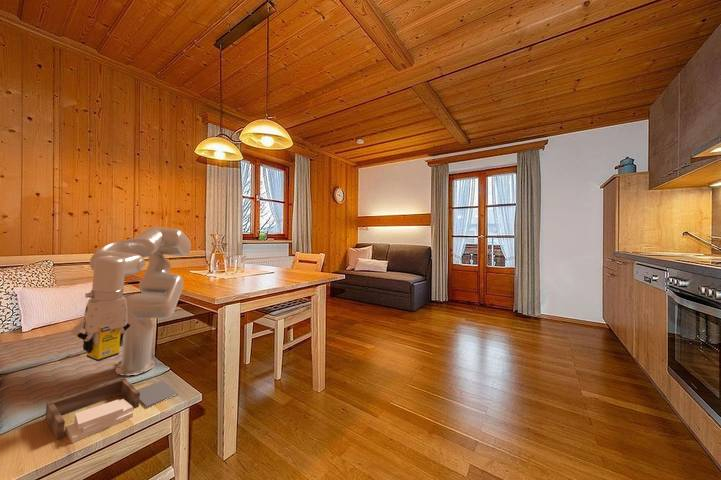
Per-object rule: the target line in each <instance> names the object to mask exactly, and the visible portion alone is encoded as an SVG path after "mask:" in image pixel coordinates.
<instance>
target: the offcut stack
mask: <svg viewBox="0 0 721 480" xmlns="http://www.w3.org/2000/svg"><path fill="white" fill-rule="evenodd" d="M133 410H134V408H133V406H132V405H131V404H130V403H129V402H128V401H127V400H126V399H125V398H121V399H115V400H112V401H109V402H105V403H102V404H100V405H97V406H93V407H91V408H88V409H84V410H82V411H79V412H75V413H74V422H72V423H69V424H67V425H64V433H65V434H66V435H67V437H68V439H69V440H70V442H71V443H72V444H73V443H75V442H78V441H80V440H82V439H85V438H87V437H90V436H92V435H94V434H97V433H99V432H101V431H103V430H106V429H108V428H111V427H112V426H114V425H117V424H120V423H121V422H124V421H127V420H130V419H131V418H133V417H134V412H133ZM110 426H111V427H110Z"/></svg>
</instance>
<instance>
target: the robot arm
mask: <svg viewBox="0 0 721 480" xmlns="http://www.w3.org/2000/svg"><path fill="white" fill-rule="evenodd" d="M191 249H192V242H191V240H190V239H189V238H188V236H187V235H186V233H184V232H183V230H181V229H178V228H172V227H164V226H163V227H162V226H151V227H149V228H147V229H145V231H143V232H142V233H140V234H139V235H137V236H136V237H133V238H128V239H123V240H119V241H115V242H110V243H108V244H106V245H104V246H102V247H100V248H99V249H98V250H96V251H95V252H94V253H93V255H91V258H90V260H89V267H90V269H91V270H92V271H93V274H92V288H91V290H90V292H87V293H85V299H87V298H89V299H88V300H87V303H86V307H85V310H84V314H83V320H81V322H79V323H78V324H77V325H75V326H74V327H73V328H71V329H70V331H69V332H70V333H71V334H72V335H74V336H76V337H78V338H79V339H80V340H83V341H82V342H83V343H82V344H83V345H82V350H83V351H85V352H86V354H87V353H91V350H92V340H91V337H92V336H93V334H94V333H98V332H99V328H100V327H106V326H108V327H109V328H110V329H118V328H121V333H120V346H121V344H122V350H121V352H122V353H121V363H120V364H118V365H117V366H116V368H115V371H116V372H115V374H116V373H118V374H123V375H127V374H134V373H140V372H144V371H146V370H149V369H151V368H152V367H153V368H154V366H155V361H154V360H153V359H151V358H152V347H153V336H154V330H155V329H154V327H155V326H154V322H153V321H152V319H168V318H170V317H172V315H174V314H173V313H175V310H176V307H177V305H178V302H179V299H180V298H181V294H182V291H183V289H184V278H183V277H182V276H181V275H180V274H176V273H170V270H171V269H172V268H171V267H172V266H171V264H170V262H169V260H168V259H167V258H166V257H165V256H178V257H185V256H188V255H189V254H190V252H191V251H192V250H191ZM147 257H148V265H147V267H146V269H145V271H144V273H143V275H142V277H141V279H140V282H139V284H138V290H139V291H140V292H141V293H134V294H131V295H129V296H128V297H126V296H124V289H125V288H124V287H125V277H127V276H135V275H137V274H139V273H140V272H142V271H143V269H144V267H145V266H146V265H145V264H146V260H145V258H147ZM82 329H84V333H83V332H81V330H82ZM122 342H123V343H122ZM153 368H152V369H153ZM152 369H151V370H152ZM141 370H143V371H141ZM149 371H150V370H149ZM118 374H117V375H118Z"/></svg>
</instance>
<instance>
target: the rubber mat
mask: <svg viewBox="0 0 721 480" xmlns="http://www.w3.org/2000/svg"><path fill="white" fill-rule="evenodd" d="M136 389H137V388H136ZM137 390H138V391H139V392H140V398H139V403H141V404H142V406H144V408H145V409H148V408H150V407H152V405H153V406H155V405H157V404H156V403H158V404H160V403H162V402H164V401H163V400H165V399H167V398H169V397H171V396H173V395H175V394H178V395H179V393H178V392H177V390H175V389H174V388H173V387H172V386H170V384H168V383H167V382H166V381H164V379H163V380H159V381H157V382H154V383H152V384H149V385H145V386H143V387H140V388H138V389H137ZM169 399H170V398H169ZM167 400H168V399H167ZM161 401H162V402H161ZM165 401H166V400H165ZM159 402H160V403H159ZM154 404H155V405H154ZM147 407H148V408H147Z"/></svg>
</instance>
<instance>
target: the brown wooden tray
mask: <svg viewBox="0 0 721 480" xmlns="http://www.w3.org/2000/svg"><path fill="white" fill-rule="evenodd" d="M119 395H121V396H122V397H123V399H124V400H125V401H127V402H128V403H129V404H130V405H132V406H133V409H137V408H139V405H140V401H139V398H140V392H139V391H138V390H137V388H136V387H135V386H133V385H132V384H131V382H129V381H128V379H126V378H125V377H124V378H120V379H118V380H113V381H111V382H108V383H104V384H102V385H99V386H96V387H93V388H89V389H87V390H84V391H80V392H78V393H74V394H71V395H68V396H65V397H63V398H62V397H61V398H59V399H55V400H52V401H50V402H47V403H46V408H45V409H46V410H45V420H46V422H47V424H48V426H49V428H50V429H51V431H52V433H53V435H54V437H55V438H56V440H57V441H59V440H61V439H63V438H64V435H65V426H66V425H65V424H66V421H65V419H64V417H63V416H64V415H66V414H69V413H72V412H75V411H77V410H80V409H83V408H86V407H89V406H91V405H94V404H97V403H100V402H102V401H105V400H108V399H112V398H114V397H116V396H119Z"/></svg>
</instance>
